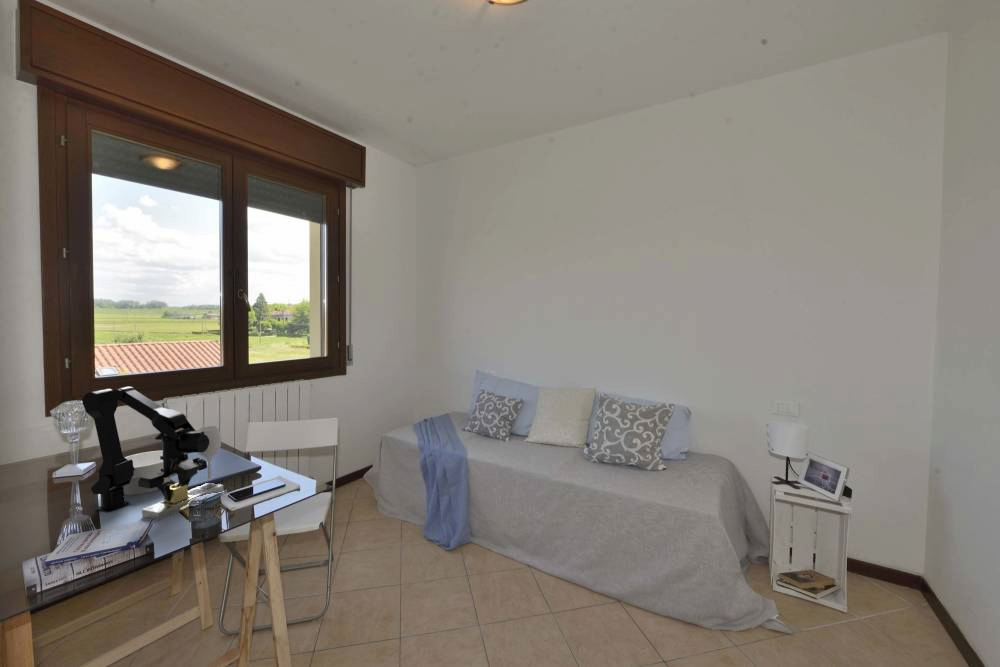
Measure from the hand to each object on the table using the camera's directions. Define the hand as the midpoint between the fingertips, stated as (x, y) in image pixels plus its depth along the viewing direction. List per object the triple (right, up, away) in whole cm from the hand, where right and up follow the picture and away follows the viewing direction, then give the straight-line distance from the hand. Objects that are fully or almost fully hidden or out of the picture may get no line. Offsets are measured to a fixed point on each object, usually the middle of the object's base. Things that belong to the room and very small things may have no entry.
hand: (175, 497), depth 143 cm
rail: (+1, -3, +3) cm, 4 cm away
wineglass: (-3, -2, +21) cm, 21 cm away
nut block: (0, -1, 0) cm, 1 cm away
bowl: (-24, -3, +17) cm, 30 cm away
